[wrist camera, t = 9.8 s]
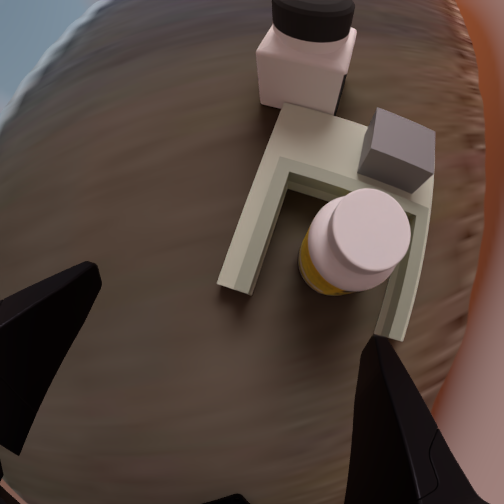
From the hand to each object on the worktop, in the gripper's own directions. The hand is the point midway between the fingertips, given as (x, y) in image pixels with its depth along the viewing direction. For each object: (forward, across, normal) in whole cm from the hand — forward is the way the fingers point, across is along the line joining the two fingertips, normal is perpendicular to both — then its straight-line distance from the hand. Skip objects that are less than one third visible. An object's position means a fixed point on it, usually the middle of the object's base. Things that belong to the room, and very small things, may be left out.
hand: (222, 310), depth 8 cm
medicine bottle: (+25, 0, -5) cm, 25 cm away
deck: (+16, -5, +3) cm, 17 cm away
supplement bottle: (+13, -5, +6) cm, 15 cm away
